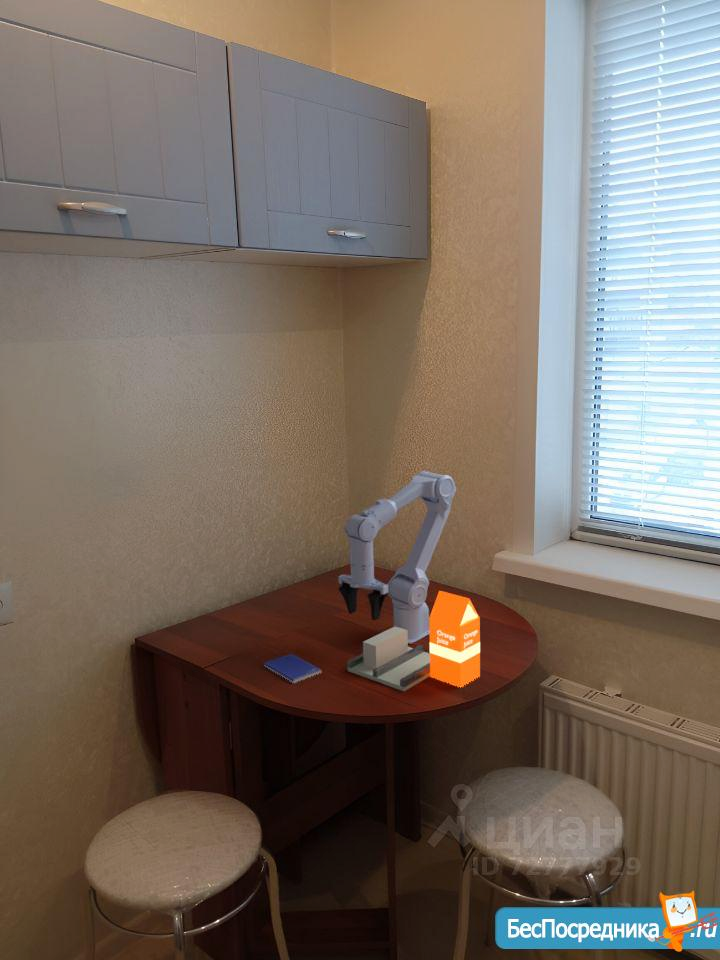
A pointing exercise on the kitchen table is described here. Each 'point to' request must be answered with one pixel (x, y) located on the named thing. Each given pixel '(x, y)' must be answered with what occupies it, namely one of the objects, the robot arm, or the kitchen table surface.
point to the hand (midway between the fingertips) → (364, 615)
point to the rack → (396, 669)
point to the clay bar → (385, 647)
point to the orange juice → (454, 640)
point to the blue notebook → (292, 668)
